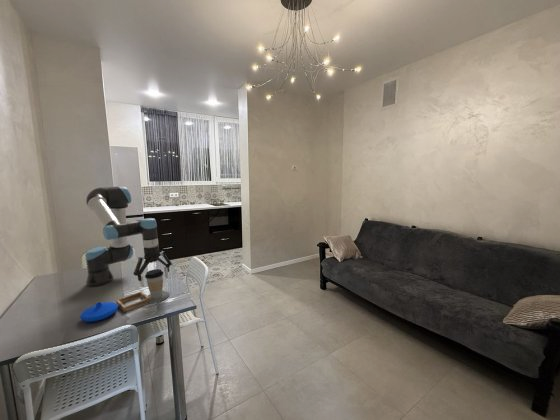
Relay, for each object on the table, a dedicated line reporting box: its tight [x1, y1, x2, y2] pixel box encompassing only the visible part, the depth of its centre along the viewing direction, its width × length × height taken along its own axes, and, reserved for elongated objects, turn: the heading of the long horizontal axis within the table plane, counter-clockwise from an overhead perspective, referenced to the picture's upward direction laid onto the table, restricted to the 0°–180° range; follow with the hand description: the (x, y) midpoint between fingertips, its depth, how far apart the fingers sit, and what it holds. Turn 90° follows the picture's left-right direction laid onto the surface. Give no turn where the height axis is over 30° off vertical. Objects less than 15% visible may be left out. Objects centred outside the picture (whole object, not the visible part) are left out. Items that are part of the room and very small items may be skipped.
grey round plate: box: [143, 290, 170, 304], centre depth 144 cm, size 13×13×1 cm
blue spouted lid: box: [79, 301, 119, 323], centre depth 126 cm, size 16×16×7 cm
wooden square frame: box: [115, 290, 151, 313], centre depth 138 cm, size 13×13×2 cm
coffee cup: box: [144, 268, 164, 299], centre depth 142 cm, size 9×9×15 cm
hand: (155, 281), depth 143 cm, fingers open, 13 cm apart
